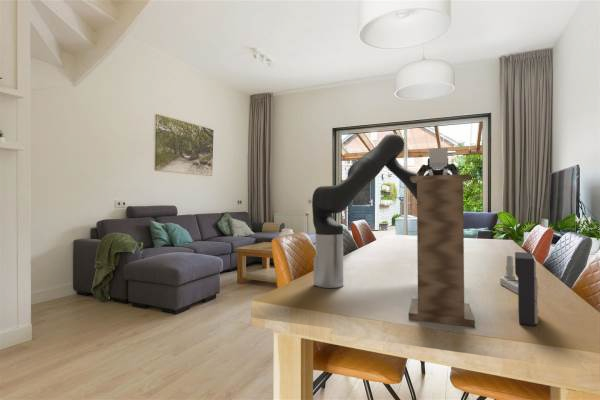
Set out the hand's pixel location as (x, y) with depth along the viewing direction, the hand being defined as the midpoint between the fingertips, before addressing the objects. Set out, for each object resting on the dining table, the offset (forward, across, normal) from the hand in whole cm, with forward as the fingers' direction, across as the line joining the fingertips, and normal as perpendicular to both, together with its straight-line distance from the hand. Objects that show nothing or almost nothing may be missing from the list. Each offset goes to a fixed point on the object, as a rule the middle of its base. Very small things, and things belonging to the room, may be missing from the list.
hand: (437, 158), depth 103 cm
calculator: (-7, +19, +44) cm, 48 cm away
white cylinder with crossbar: (+2, 0, +4) cm, 5 cm away
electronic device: (-33, +23, +28) cm, 49 cm away
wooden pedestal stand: (-4, 0, +45) cm, 45 cm away
